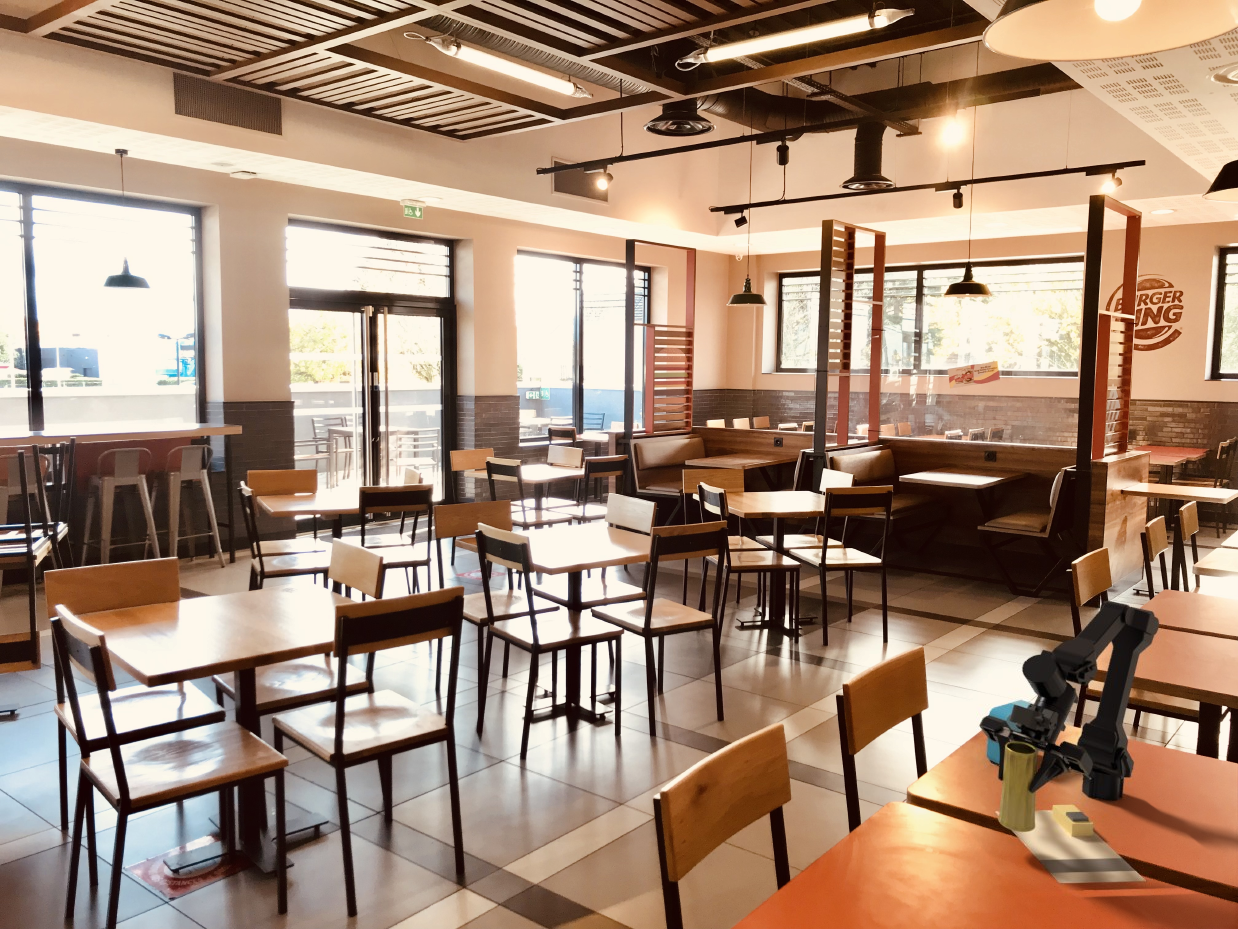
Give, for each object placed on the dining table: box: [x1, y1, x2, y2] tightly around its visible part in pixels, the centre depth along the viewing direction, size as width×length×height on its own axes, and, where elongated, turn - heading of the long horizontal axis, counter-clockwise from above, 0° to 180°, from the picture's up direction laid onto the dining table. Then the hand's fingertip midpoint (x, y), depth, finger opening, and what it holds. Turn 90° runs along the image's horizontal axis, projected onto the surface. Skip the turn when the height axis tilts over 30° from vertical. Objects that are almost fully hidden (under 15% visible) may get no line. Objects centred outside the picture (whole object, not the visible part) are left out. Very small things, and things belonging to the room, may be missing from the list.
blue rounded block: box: [986, 699, 1040, 765], centre depth 203 cm, size 12×4×12 cm, turn 120°
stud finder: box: [1051, 804, 1094, 836], centre depth 174 cm, size 7×4×3 cm, turn 3°
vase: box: [997, 742, 1038, 832], centre depth 164 cm, size 6×6×14 cm
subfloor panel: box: [995, 809, 1147, 884], centre depth 168 cm, size 15×24×1 cm, turn 3°
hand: (1015, 785), depth 164 cm, fingers closed on vase, 5 cm apart
